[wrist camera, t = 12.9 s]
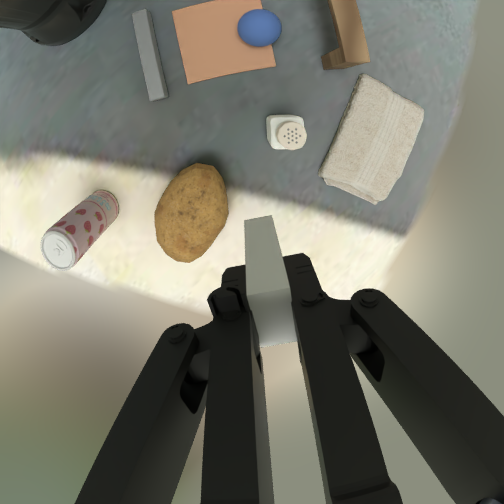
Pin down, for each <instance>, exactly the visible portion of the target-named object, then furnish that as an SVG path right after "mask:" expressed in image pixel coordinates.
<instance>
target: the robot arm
mask: <svg viewBox="0 0 504 504" xmlns="http://www.w3.org/2000/svg"><path fill="white" fill-rule="evenodd" d="M105 3H106V0H0V28H9V29H17V30H21V31H22V32H23V33H24V34H26V35H27V36H28V37H29V38H30V39H31V40H33V41H34V42H36V43H38V44H41V45H48V46H57V45H61V44H64V43H67V42H69V41H71V40H73V39H74V38H76V37H77V36H79V35H80V34H81V33H83V32H84V31H85V30H86V29H87V28H88V27H89V26H90V25H91V24H92V23H93V22H94V20H95V19H96V18H97V16H98V15H99V14H100V12H101V10H102V9H103V7H104V5H105ZM244 229H245V262H246V265H241V266H235V267H230V268H227V269H226V270H225V272H224V273H223V275H222V283H221V287H220V288H218V289H216V290H214V291H213V292H212V293H211V294H210V295H209V296H208V299H207V301H208V304H209V307H210V309H211V312H212V315H213V321H211V322H210V323H208V324H206V325H204V326H202V327H199V328H197V329H193V327H191V325H189V324H185V323H181V324H176V325H173V326H171V327H169V328H168V329H166V330H165V331H164V333H163V334H162V335H161V337H160V339H159V341H158V343H157V344H156V346H155V348H154V350H153V351H152V353H151V355H150V357H149V358H148V360H147V362H146V364H145V366H144V368H143V370H142V371H141V373H140V375H139V377H138V379H137V381H136V382H135V384H134V386H133V388H132V390H131V392H130V393H129V395H128V397H127V399H126V401H125V403H124V405H123V407H122V409H121V411H120V412H119V414H118V416H117V418H116V420H115V422H114V424H113V426H112V428H111V430H110V432H109V434H108V436H107V438H106V440H105V442H104V444H103V446H102V448H101V450H100V452H99V454H98V456H97V458H96V460H95V462H94V464H93V466H92V468H91V470H90V472H89V474H88V476H87V479H86V481H85V483H84V485H83V487H82V489H81V491H80V493H79V495H78V498H77V500H76V502H75V504H171V502H172V499H173V496H174V494H175V491H176V488H177V485H178V483H179V480H180V477H181V474H182V471H183V469H184V466H185V463H186V460H187V458H188V455H189V452H190V449H191V446H192V444H193V441H194V438H195V435H196V432H197V429H198V427H199V424H200V421H201V418H202V415H203V413H204V409H205V407H206V413H205V429H204V445H203V446H204V447H203V463H202V464H203V465H202V486H201V503H200V504H274V494H273V482H272V470H271V458H270V446H269V435H268V423H267V411H266V399H265V387H264V374H263V363H262V356H261V352H260V347H268V346H274V345H279V344H285V343H290V342H296V341H297V342H298V348H299V355H300V362H301V365H302V369H303V374H304V380H305V385H306V390H307V396H308V400H309V406H310V412H311V417H312V423H313V428H314V433H315V439H316V445H317V450H318V456H319V462H320V468H321V474H322V480H323V486H324V493H325V499H326V504H403V503H402V499H401V496H400V493H399V490H398V488H397V486H396V485H395V484H394V483H393V482H392V481H391V480H390V478H389V476H388V473H387V469H386V465H385V462H384V458H383V455H382V451H381V448H380V444H379V441H378V438H377V434H376V431H375V428H374V425H373V421H372V418H371V415H370V412H369V409H368V406H367V403H366V400H365V396H364V393H363V390H362V387H361V384H360V382H359V379H358V376H357V373H356V370H355V367H354V364H353V361H352V358H353V360H354V361H355V362H356V364H357V365H358V366H359V368H360V369H361V371H362V372H363V373H364V374H365V376H366V378H367V379H368V380H369V382H370V383H371V384H372V386H373V387H374V389H375V390H376V391H377V393H378V394H379V395H380V397H381V398H382V400H383V401H384V403H385V404H386V405H387V407H388V408H389V409H390V411H391V412H392V414H393V415H394V417H395V418H396V419H397V421H398V422H399V424H400V425H401V426H402V428H403V429H404V431H405V432H406V433H407V435H408V436H409V438H410V439H411V440H412V442H413V443H414V445H415V446H416V448H417V449H418V451H419V452H420V453H421V455H422V456H423V458H424V459H425V461H426V462H427V464H428V465H429V466H430V468H431V469H432V471H433V472H434V473H435V475H436V477H437V478H438V480H439V481H440V482H441V484H442V485H443V487H444V488H445V490H446V491H447V492H448V494H449V495H450V496H451V498H452V499H453V500H454V502H455V503H456V504H504V416H503V415H502V414H501V413H500V412H499V411H498V409H497V408H496V407H495V406H494V405H493V404H492V402H491V401H490V400H489V399H488V398H487V397H486V396H485V395H484V393H483V392H482V391H481V390H480V389H479V388H478V387H477V386H476V385H475V384H474V383H473V381H472V380H471V379H470V378H469V377H468V376H467V375H466V374H465V373H464V372H463V371H462V370H461V369H460V368H459V367H458V366H457V365H456V363H455V362H453V360H452V359H451V358H450V357H449V356H447V354H446V353H445V352H444V351H443V350H442V349H441V348H440V347H439V346H438V345H437V344H436V343H435V342H434V341H433V340H432V339H431V338H430V337H429V336H428V335H427V334H426V333H425V332H424V331H423V330H422V329H421V328H420V327H418V325H417V324H416V323H415V322H414V321H413V320H411V319H410V318H409V317H408V316H407V315H406V314H405V313H404V312H403V311H402V310H401V309H400V308H399V307H398V306H397V305H396V304H395V303H394V302H393V301H391V300H390V299H389V298H388V297H387V296H386V295H385V294H384V293H382V292H381V291H379V290H376V289H362V290H359V291H357V292H356V293H354V294H353V296H352V297H351V300H338V299H333V298H331V297H329V296H328V295H327V294H326V293H325V292H324V291H323V290H322V288H321V286H320V283H319V280H318V278H317V275H316V273H315V271H314V268H313V266H312V263H311V260H310V258H309V257H308V256H306V255H305V254H304V253H300V254H294V255H289V256H284V257H282V253H281V249H280V245H279V241H278V238H277V234H276V230H275V226H274V222H273V218H272V215H270V216H264V217H259V218H254V219H249V220H244ZM259 343H260V345H259ZM350 355H351V356H350ZM351 357H352V358H351Z"/></svg>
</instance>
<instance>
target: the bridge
mask: <svg viewBox="0 0 504 504" xmlns="http://www.w3.org/2000/svg"><path fill="white" fill-rule="evenodd" d="M327 1H328V4H329V8H330V12H331V15H332V19H333V23H334V27H335V31H336V36H337V40H338V44H339V48H337V49H335V50H333V51H331V52H329V53H327V54H326V55H324V56H322V57H321V59H322V64H323V69H324V70H329V69H345V68H348V67H352V66H356V65H359V64H363V63H367V62H370V58H369V53H368V48H367V44H366V39H365V35H364V30H363V26H362V22H361V18H360V15H359V11H358V7H357V4H356V0H327Z"/></svg>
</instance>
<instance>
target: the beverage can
mask: <svg viewBox="0 0 504 504" xmlns="http://www.w3.org/2000/svg"><path fill="white" fill-rule="evenodd" d="M118 211H119V208H118V203H117V201H116V199H115V198H114V196H113V195H112V194H110V193H109V192H107V191H103V190H100V191H96V192H94V193H93V194H92V195H90V196H89V197H88V198H86V199H85V200H84V201H82V202H81V203H80V204H78V205H77V206H76V207H75V208H73V209H72V210H71V211H70V212H68V213H67V214H66V215H65V216H64V217H62V218H61V219H60V220H59V221H58V222H56V223H55V224H54V225H53V226H52V227H51V228H49V229H48V230H47V231H46V233H45V234H44V235H43V237H42V240H41V251H42V254H43V256H44V258H45V260H46V261H47V262H48V264H49V265H51V266H52V267H53V268H55V269H57V270H62V271H63V270H69V269H70V268H72V267H73V266H74V265H75V264H76V263H77V262H78V261H79V260H80V258H81V257H82V256H83V255H84V254H85V252H86V251H87V250H88V249H89V248H90V247H91V246H92V244H93V243H94V242H95V241H96V240H97V239H98V238H99V236H100V235H101V234H102V233H103V232H104V231H105V230H106V229H107V228H108V227H109V225H110V224H111V223H112V222H113V221H114V220H115V219H116V217H117V215H118Z"/></svg>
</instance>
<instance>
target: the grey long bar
mask: <svg viewBox="0 0 504 504" xmlns="http://www.w3.org/2000/svg"><path fill="white" fill-rule="evenodd" d="M132 18H133V23H134V29H135V34H136V39H137V44H138V49H139V54H140V58H141V63H142V68H143V72H144V77H145V81H146V85H147V90H148V94H149V98H150V101H157V100H161V99H164V98H167V97H169V95H168V91H167V87H166V82H165V78H164V74H163V69H162V65H161V60H160V56H159V51H158V46H157V42H156V37H155V32H154V27H153V22H152V17H151V13H150V12H149V11H148V10H147V9H146V8H145V9H143V10H140V11H137V12H135V13H132Z"/></svg>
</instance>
